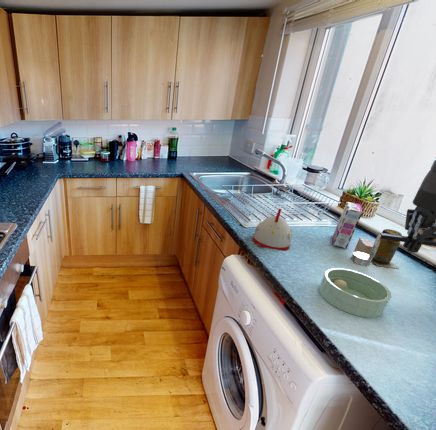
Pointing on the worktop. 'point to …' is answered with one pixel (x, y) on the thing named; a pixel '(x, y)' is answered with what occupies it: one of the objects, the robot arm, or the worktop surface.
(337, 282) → the dumpling
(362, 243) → the brown wooden block
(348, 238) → the candy bar box
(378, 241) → the ladle
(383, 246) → the condiment
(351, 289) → the bowl
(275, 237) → the cream dome hat
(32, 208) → the worktop surface
